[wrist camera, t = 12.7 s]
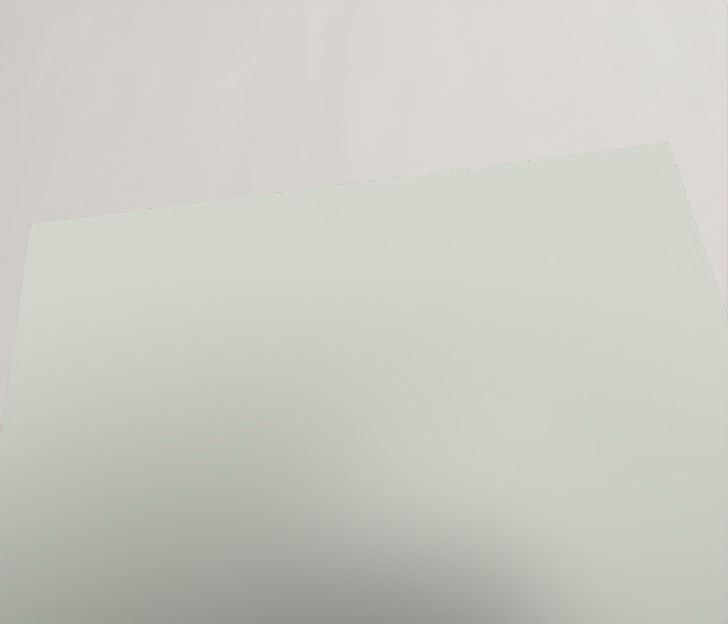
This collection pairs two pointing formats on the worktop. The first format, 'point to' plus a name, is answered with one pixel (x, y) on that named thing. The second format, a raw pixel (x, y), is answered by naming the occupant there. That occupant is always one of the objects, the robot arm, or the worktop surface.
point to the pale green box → (374, 406)
